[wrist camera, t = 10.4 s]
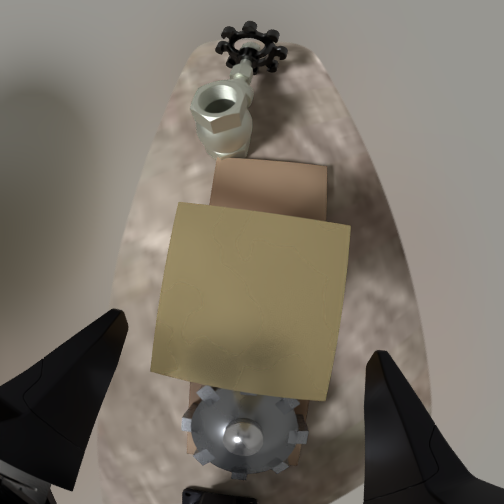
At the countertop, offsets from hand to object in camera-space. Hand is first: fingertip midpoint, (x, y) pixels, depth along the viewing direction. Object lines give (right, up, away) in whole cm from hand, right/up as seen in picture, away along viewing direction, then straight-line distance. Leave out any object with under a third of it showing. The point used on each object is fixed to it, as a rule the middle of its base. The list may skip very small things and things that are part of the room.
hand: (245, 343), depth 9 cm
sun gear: (0, -9, +9) cm, 13 cm away
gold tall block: (+1, 0, +10) cm, 10 cm away
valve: (-1, +16, +15) cm, 21 cm away
